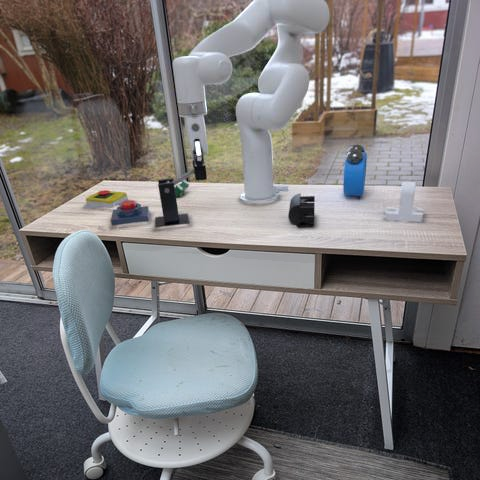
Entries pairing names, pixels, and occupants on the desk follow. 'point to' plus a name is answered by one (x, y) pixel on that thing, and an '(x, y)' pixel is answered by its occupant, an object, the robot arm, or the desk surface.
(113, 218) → the button box
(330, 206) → the desk surface
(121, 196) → the emergency button
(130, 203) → the button
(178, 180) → the lever
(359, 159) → the alarm clock
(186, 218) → the bracket
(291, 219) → the end cap
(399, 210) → the cable organizer
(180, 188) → the gaming controller
